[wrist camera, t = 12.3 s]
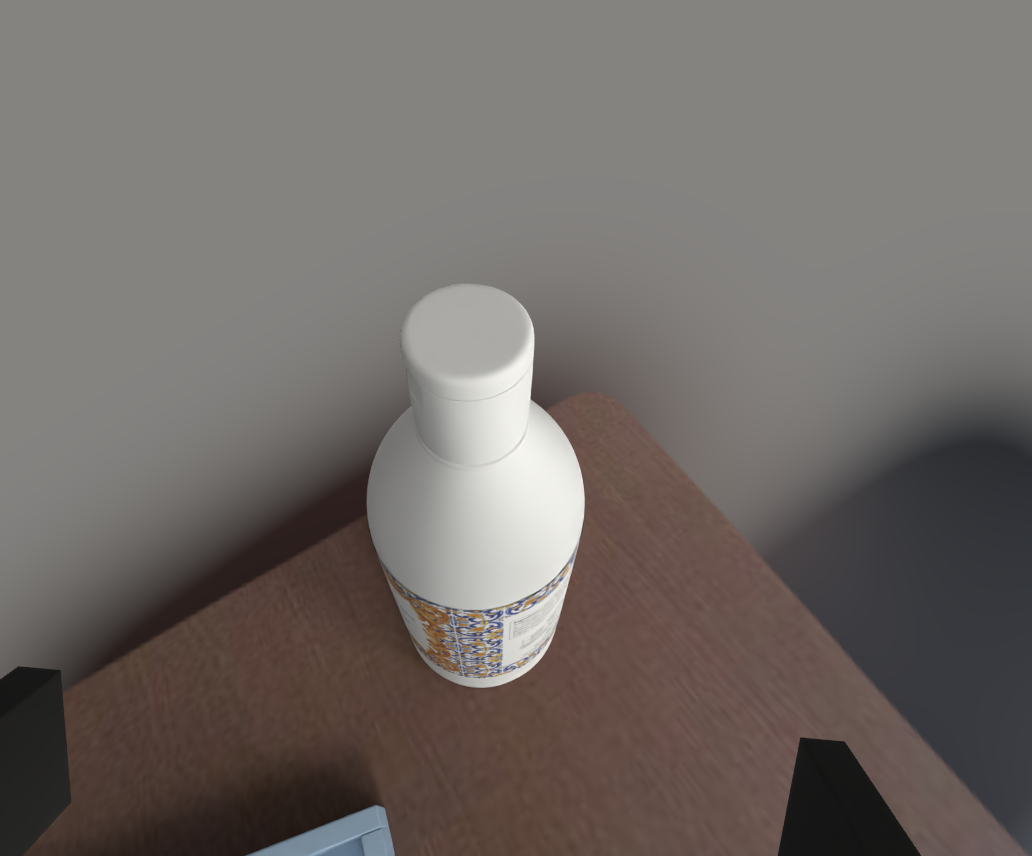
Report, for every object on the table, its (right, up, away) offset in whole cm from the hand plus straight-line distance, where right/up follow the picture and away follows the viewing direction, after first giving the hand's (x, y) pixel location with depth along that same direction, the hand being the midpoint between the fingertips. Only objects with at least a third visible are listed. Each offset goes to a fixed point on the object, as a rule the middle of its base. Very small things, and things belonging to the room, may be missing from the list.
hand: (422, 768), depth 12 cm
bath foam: (0, -3, +19) cm, 20 cm away
